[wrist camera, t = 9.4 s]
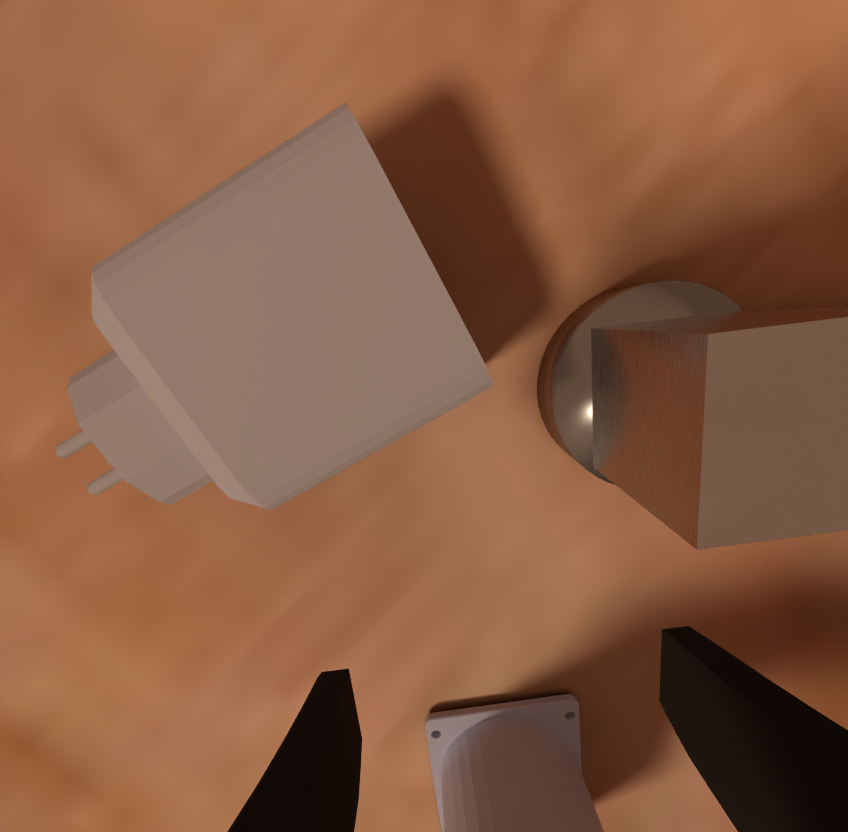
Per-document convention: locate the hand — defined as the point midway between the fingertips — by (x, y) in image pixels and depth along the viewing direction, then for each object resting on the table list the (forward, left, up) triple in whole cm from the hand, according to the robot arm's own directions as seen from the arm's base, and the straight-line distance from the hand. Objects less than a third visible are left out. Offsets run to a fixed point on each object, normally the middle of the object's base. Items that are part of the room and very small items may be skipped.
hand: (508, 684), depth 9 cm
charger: (+7, +7, -10) cm, 14 cm away
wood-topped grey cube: (+4, -8, -7) cm, 12 cm away
